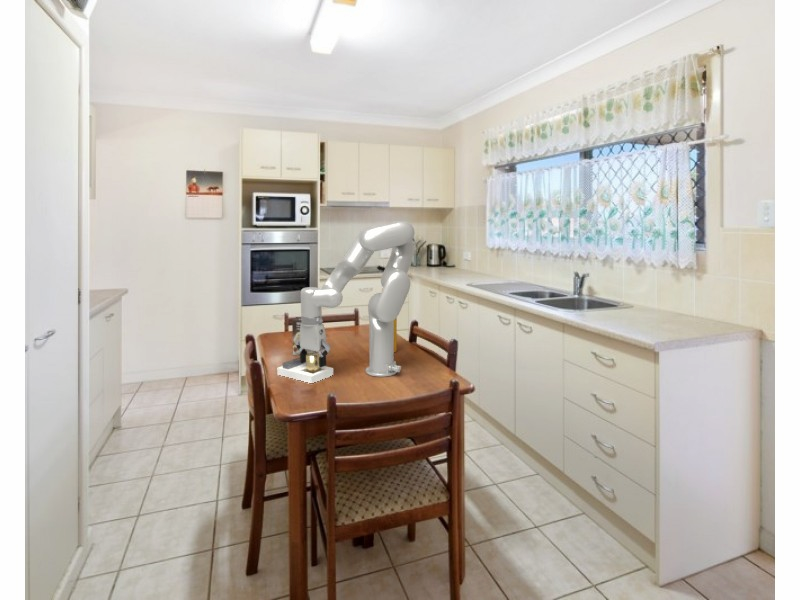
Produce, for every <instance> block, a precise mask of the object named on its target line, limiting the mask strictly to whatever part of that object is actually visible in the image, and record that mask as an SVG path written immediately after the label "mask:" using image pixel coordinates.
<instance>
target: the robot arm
mask: <svg viewBox="0 0 800 600" xmlns="http://www.w3.org/2000/svg"><path fill="white" fill-rule="evenodd" d="M414 237H415V228H414V226H413V225H412V224H411V223H410V222H409V221H405V220H394V221H391V222H390V223H388V224H386V225H381V226H377V227H370V226H369V227H365V228H363V229H361V231H360V232H359V233H358V234H357V236H356V237H355V239H354V241H353V242H352V244H351V245H350V247H349V248H348V250H347V251H346V253H345V255H344V256H343V257H342V259H341V260H340V261H339V263H338V264H337V265H336V266H335V268H334V269H333V270H332V271H331V273H329V276H328V277H327V279H326V280H325V282H324V283H323V285H322V287H320V288H319V287H315V286H309V287H308V286H307V287H303V288H302V289H301V290H300V313H301V314H300V316H301V321H302V323H301V326H300V338H298V339H296V340H295V343H296V345H297V348H298V350H299V353H300V355H299V357H300V362H301V363H303V362H306V354H307V351H306V349H307V350H311V351H316V353H318V354H319V367H323V366H327V356H328V354H329V353H330V350H331V348H332V347H331V344H329V343H328V342H327V336H326V335H327V333H326V329H325V325H324V323H323V322H324V319H323V316H322V308H332V309H333V308H337V307H338V306H340V305H341V303H342V302H343V296H344V295H343V294H342V291H343V290H344V289H345V287H346V286H347V284H348V283H349V282H350V281H351V279H353V278H355V277H356V276H357V275H359V274H360V273H361V272H362V271H363V269H364V268H365V267H366V265H367V264H368V262H369V261H370V259H371V257H372V256H373V255H374V253H375V252H378V251H379V252H380V251H384V250H389V249H391V251H390V255H389V259H388V261H387V263H386V266H385V267H384V270H383V272H382V274H381V277H380V284H381V287H382V288H383V290H382V289H381V291H380V292H376V293H374V294H373V295H372V296H371V297H370V299H369V300H368V305H367V306H368V307H367V312H368V322H369V328H368V329H369V336H368V337H369V343H368V344H369V345H368V346H369V366H367V367H366V368H365V373H366V374H367V375H369V376H372V377H379V378H380V377H382V378H383V377H390V376H395V375H396V374H397V373H400V372H401V370H402V366H401V365H397V362H396V360H394V354H395V353H394V322H393V320H395V319H396V318H397V319H398V316H399V314H400V313H401V311H402V308H403V307H404V305H405V301H406V299H407V297H408V295H409V291H410V289H411V277H410V276H409V275H408V272H409V270H410V267H411V264H412V262H413V258H414V253H415V247H414V241H413V239H414Z"/></svg>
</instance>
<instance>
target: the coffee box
mask: <svg viewBox="0 0 800 600" xmlns="http://www.w3.org/2000/svg"><path fill="white" fill-rule="evenodd" d="M291 321H292V322H291V325H292V326H291V328H292V355H293V356H300V353H299V350H298V348H297V345H296V343H295V340H296V339H298V338H300V326H301V323H302V321H301V317H299V316H297V317H295V318H293V319H292V320H291ZM306 351H307V354H308V353H317V351H311V350H307V349H306Z"/></svg>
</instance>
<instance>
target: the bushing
mask: <svg viewBox="0 0 800 600" xmlns="http://www.w3.org/2000/svg"><path fill="white" fill-rule="evenodd" d="M319 357H320V355H319V353H318V352H315V353H308V354H306V372H308V373H312V374H314V373H316V372H319V371H320V367H319Z"/></svg>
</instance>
